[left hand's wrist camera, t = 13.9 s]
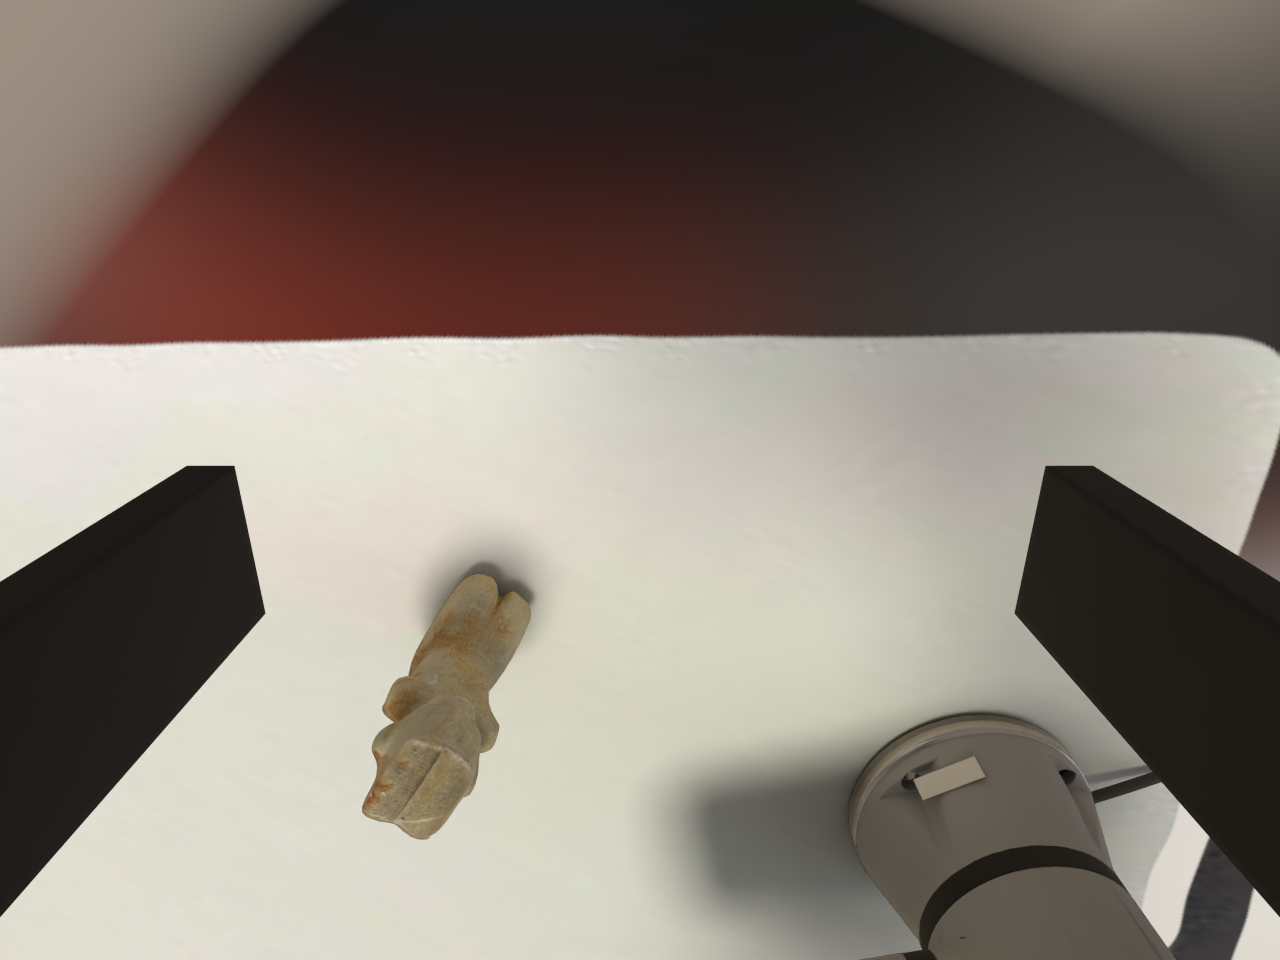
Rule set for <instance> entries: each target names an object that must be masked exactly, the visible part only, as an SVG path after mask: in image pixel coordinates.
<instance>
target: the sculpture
mask: <svg viewBox="0 0 1280 960" xmlns="http://www.w3.org/2000/svg"><path fill="white" fill-rule="evenodd" d="M530 617H531V610H530V607H529V605H528V603H527V602H526V601H525V600H524V599H523V598H522V597H521V596H520V595H519V594H517V593H515V592H509V593H507V594H505V595H503V596H499V593H498V588H497V584H496V582H495V580H494V579H493V578H492V577H490V576H487V575H483V574H473V575H471V576H469V577H467V578H465V579H464V580H463V581H462V582H461V583H460V584H459V585H458V586H457V587H456V589H455V590H454V591H453V593H452V594H451V595H450V597H449V598H448V600H447V601H446V602H445V604H444V605H443V607H442V608H441V610H440V611H439V613H438V615H437V616H436V618H435V619H434V621H433V623H432V624H431V626H430V628H429V629H428V631H427V632H426V634H425V636H424V638H423V640H422V641H421V643H420V645H419V647H418V649H417V650H416V653H415V655H414V658H413V660H412V663H411V667H410V671H409V676H407V677H402V678H399V679H397V680H396V681H395V682H394V684H393V685H392V687H391V689H390V691H389V694H388V696H387V698H386V701H385V704H384V705H383V708H382V710H383V713H384V714H385V715H386V716H387V717H388V718H389V719H390V720H392V721H393V722H394V723H392V724H390V725H388V726H387V727H385V728H384V729H382V730H381V731H380V732H379V733H378V735H377V736H376V737H375V739H374V741H373V744H372V752H373V755H374V757H375V759H376V762H377V775H376V779H375V781H374V783H373V785H372V787H371V789H370V791H369V793H368V795H367V797H366V799H365V801H364V804H363V806H362V813H363V814H364V815H365V816H367V817H368V818H371V819H374V820H377V821H380V822H388V823H393V824H395V825H397V826H398V827H399V828H400V829H401V830H403V831H404V832H405V833H406V834H408V835H409V836H411V837H413V838H416V839H423V840H424V839H429V837H430V836H431V835H432V834H434V833H436V832H437V831H438V830H439V829H440V828H441V827H442V826H443V825H444V823H445V822H446V821H447V820H448V818H449V817H450V815H451V814H452V812H453V811H454V809H455V808H456V806H457V805H458V803H459V802H460V801H461V799H462V798H463V797H466V796H468V795H470V794H471V792H472V790H473V788H474V786H475V784H476V779H477V775H478V766H479V754H480V753H484V752H486V751H488V750H490V749H491V748H492V747H493V746H494V744H495V742H496V738H497V735H498V731H499V724H498V722H497V721H496V719H495V717H494V715H493V714H492V712H491V709H490V706H489V691H490V690H491V688H492V687H493V686H494V684H495V683H496V682H497V680H498V679H499V677H500V676H501V675H502V673H503V672H504V670H505V669H506V667H507V665H508V664H509V662H510V660H511V659H512V657H513V655H514V653H515V651H516V649H517V647H518V645H519V643H520V641H521V639H522V637H523V635H524V633H525V630H526V628H527V626H528V623H529V621H530Z"/></svg>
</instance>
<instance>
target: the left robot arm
mask: <svg viewBox="0 0 1280 960" xmlns="http://www.w3.org/2000/svg"><path fill="white" fill-rule="evenodd" d="M264 614H265V609H264V605H263V600H262V595H261V590H260V586H259V581H258V576H257V571H256V567H255V562H254V557H253V552H252V547H251V543H250V538H249V533H248V528H247V524H246V519H245V514H244V509H243V505H242V500H241V495H240V490H239V486H238V481H237V476H236V471H235V467H234V466H186V467H184V468H183V469H181V470H180V471H178V472H176V473H175V474H173V475H171V476H170V477H168V478H167V479H165V480H163V481H162V482H160V483H159V484H157V485H155V486H154V487H152V488H151V489H149V490H147V491H146V492H144V493H143V494H141V495H139V496H138V497H136V498H134V499H133V500H131V501H130V502H128V503H126V504H125V505H123V506H122V507H120V508H118V509H117V510H115V511H114V512H112V513H110V514H109V515H107V516H105V517H104V518H102V519H101V520H99V521H97V522H96V523H94V524H93V525H91V526H89V527H88V528H86V529H85V530H83V531H81V532H80V533H78V534H77V535H75V536H73V537H72V538H70V539H68V540H67V541H65V542H64V543H62V544H60V545H59V546H57V547H56V548H54V549H52V550H51V551H49V552H48V553H46V554H44V555H43V556H41V557H39V558H38V559H36V560H35V561H33V562H31V563H30V564H28V565H27V566H25V567H23V568H22V569H20V570H19V571H17V572H15V573H14V574H12V575H11V576H9V577H7V578H6V579H4V580H2V581H1V582H0V917H1V916H2V914H3V913H4V912H5V911H6V910H7V909H8V908H9V906H10V905H11V904H12V903H13V902H14V901H15V900H16V898H17V897H18V896H19V895H20V894H21V893H22V892H23V890H24V889H25V888H26V887H27V886H28V885H29V884H30V882H31V881H32V880H33V879H34V878H35V877H36V876H37V874H38V873H39V872H40V871H41V870H42V869H43V868H44V866H45V865H46V864H47V863H48V862H49V861H50V859H51V858H52V857H53V856H54V855H55V854H56V853H57V851H58V850H59V849H60V848H61V847H62V846H63V845H64V843H65V842H66V841H67V840H68V839H69V838H70V837H71V835H72V834H73V833H74V832H75V831H76V830H77V829H78V827H79V826H80V825H81V824H82V823H83V822H84V821H85V819H86V818H87V817H88V816H89V815H90V814H91V813H92V811H93V810H94V809H95V808H96V807H97V806H98V805H99V803H100V802H101V801H102V800H103V799H104V798H105V797H106V795H107V794H108V793H109V792H110V791H111V790H112V788H113V787H114V786H115V785H116V784H117V783H118V782H119V780H120V779H121V778H122V777H123V776H124V775H125V774H126V772H127V771H128V770H129V769H130V768H131V767H132V766H133V764H134V763H135V762H136V761H137V760H138V759H139V758H140V756H141V755H142V754H143V753H144V752H145V751H146V750H147V748H148V747H149V746H150V745H151V744H152V743H153V742H154V740H155V739H156V738H157V737H158V736H159V735H160V734H161V732H162V731H163V730H164V729H165V728H166V727H167V726H168V724H169V723H170V722H171V721H172V720H173V719H174V717H175V716H176V715H177V714H178V713H179V712H180V711H181V709H182V708H183V707H184V706H185V705H186V704H187V703H188V701H189V700H190V699H191V698H192V697H193V696H194V695H195V693H196V692H197V691H198V690H199V689H200V688H201V687H202V685H203V684H204V683H205V682H206V681H207V680H208V679H209V677H210V676H211V675H212V674H213V673H214V672H215V671H216V669H217V668H218V667H219V666H220V665H221V664H222V663H223V661H224V660H225V659H226V658H227V657H228V656H229V655H230V653H231V652H232V651H233V650H234V649H235V648H236V646H237V645H238V644H239V643H240V642H241V641H242V640H243V638H244V637H245V636H246V635H247V634H248V633H249V632H250V630H251V629H252V628H253V627H254V626H255V625H256V624H257V622H258V621H259V620H260V619H261V618H262V617H263V616H264ZM1015 614H1016V616H1017V617H1018V618H1019V619H1020V620H1021V621H1022V622H1023V624H1024V625H1025V626H1026V627H1027V628H1028V629H1029V630H1030V632H1031V633H1032V634H1033V635H1034V636H1035V637H1036V638H1037V640H1038V641H1039V642H1040V643H1041V644H1042V645H1043V646H1044V648H1045V649H1046V650H1047V651H1048V652H1049V653H1050V655H1051V656H1052V657H1053V658H1054V659H1055V660H1056V661H1057V663H1058V664H1059V665H1060V666H1061V667H1062V668H1063V669H1064V671H1065V672H1066V673H1067V674H1068V675H1069V676H1070V677H1071V679H1072V680H1073V681H1074V682H1075V683H1076V684H1077V685H1078V687H1079V688H1080V689H1081V690H1082V691H1083V692H1084V693H1085V695H1086V696H1087V697H1088V698H1089V699H1090V700H1091V701H1092V703H1093V704H1094V705H1095V706H1096V707H1097V708H1098V709H1099V711H1100V712H1101V713H1102V714H1103V715H1104V716H1105V717H1106V719H1107V720H1108V721H1109V722H1110V723H1111V724H1112V726H1113V727H1114V728H1115V729H1116V730H1117V731H1118V732H1119V734H1120V735H1121V736H1122V737H1123V738H1124V739H1125V740H1126V742H1127V743H1128V744H1129V745H1130V746H1131V747H1132V748H1133V750H1134V751H1135V752H1136V753H1137V754H1138V755H1139V756H1140V758H1141V759H1142V760H1143V761H1144V762H1145V763H1146V764H1147V766H1148V767H1149V768H1150V769H1151V770H1152V771H1153V772H1151V773H1148V774H1145V775H1142V776H1139V777H1136V778H1133V779H1130V780H1127V781H1124V782H1121V783H1118V784H1115V785H1111V786H1108V787H1105V788H1102V789H1099V790H1095V791H1092V792H1091V791H1090V788H1089V786H1088V783H1087V780H1086V779H1085V777H1084V775H1083V773H1082V772H1081V770H1080V769H1079V768H1078V766H1077V765H1076V764H1075V762H1074V761H1073V760H1072V758H1071V757H1070V756H1069V754H1068V753H1067V752H1066V750H1065V749H1064V748H1063V747H1062V746H1061V744H1060V743H1059V742H1058V741H1057V740H1055V739H1054V738H1053V737H1052V736H1051V735H1049V734H1048V733H1046V732H1045V731H1043V730H1042V729H1040V728H1038V727H1036V726H1034V725H1032V724H1029V723H1026V722H1024V721H1021V720H1017V719H1013V718H1009V717H1003V716H995V715H967V716H959V717H953V718H948V719H944V720H940V721H937V722H933V723H930V724H928V725H925V726H922V727H920V728H918V729H916V730H914V731H911V732H909V733H908V734H906V735H904V736H902V737H901V738H899V739H897V740H896V741H895V742H893V743H892V744H890V745H889V746H888V747H886V748H885V749H884V750H883V751H882V752H880V753H879V754H878V755H877V756H876V757H875V758H874V759H873V760H872V762H871V763H870V764H869V765H868V766H867V768H866V769H865V770H864V772H863V773H862V775H861V776H860V778H859V780H858V782H857V784H856V786H855V788H854V791H853V793H852V797H851V800H850V806H849V827H850V831H851V835H852V838H853V842H854V845H855V848H856V851H857V854H858V857H859V859H860V862H861V864H862V866H863V868H864V869H865V871H866V872H867V874H868V875H869V877H870V878H871V879H872V881H873V882H874V883H875V885H876V886H877V887H878V888H879V890H880V891H881V892H882V894H883V895H884V896H885V898H886V899H887V900H888V901H889V903H890V904H891V905H892V907H893V908H894V909H895V910H896V912H897V913H898V914H899V916H900V917H901V918H902V919H903V921H904V922H905V923H906V925H907V926H908V927H909V928H910V930H911V931H912V932H913V933H914V935H915V936H916V937H917V939H918V940H919V942H920V945H921V947H922V950H920V951H914V952H907V953H898V954H892V955H885V956H879V957H873V958H867V959H861V960H1176V959H1175V958H1174V956H1173V955H1172V953H1171V952H1170V950H1169V949H1168V948H1167V946H1166V945H1165V943H1164V942H1163V940H1162V939H1161V938H1160V936H1159V935H1158V933H1157V932H1156V931H1155V929H1154V928H1153V926H1152V925H1151V924H1150V922H1149V921H1148V919H1147V918H1146V916H1145V915H1144V913H1143V912H1142V911H1141V909H1140V908H1139V906H1138V905H1137V904H1136V902H1135V901H1134V899H1133V898H1132V897H1131V895H1130V894H1129V892H1128V891H1127V889H1126V888H1125V886H1124V885H1123V884H1122V882H1121V881H1120V879H1119V878H1118V876H1117V875H1116V873H1115V872H1114V870H1113V868H1112V864H1111V861H1110V857H1109V854H1108V850H1107V846H1106V843H1105V839H1104V836H1103V832H1102V829H1101V825H1100V822H1099V818H1098V815H1097V811H1096V808H1095V803H1098V802H1102V801H1105V800H1108V799H1111V798H1114V797H1117V796H1121V795H1124V794H1127V793H1130V792H1133V791H1136V790H1139V789H1142V788H1145V787H1148V786H1151V785H1154V784H1157V783H1160V782H1162V783H1163V784H1164V785H1165V786H1166V787H1167V788H1168V790H1169V791H1170V792H1171V793H1172V794H1173V795H1174V797H1175V798H1176V799H1177V800H1178V801H1179V802H1180V803H1181V805H1182V806H1183V807H1184V808H1185V809H1186V810H1187V811H1188V813H1189V814H1190V815H1191V816H1192V817H1193V818H1194V819H1195V821H1196V822H1197V823H1198V824H1199V825H1200V826H1201V827H1202V829H1203V830H1204V831H1205V832H1206V833H1207V834H1208V835H1209V837H1210V838H1211V839H1212V840H1213V841H1214V842H1215V843H1216V845H1217V846H1218V847H1219V848H1220V849H1221V850H1222V851H1223V853H1224V854H1225V855H1226V856H1227V857H1228V858H1229V859H1230V861H1231V862H1232V863H1233V864H1234V865H1235V866H1236V868H1237V869H1238V870H1239V871H1240V872H1241V873H1242V874H1243V876H1244V877H1245V878H1246V879H1247V880H1248V881H1249V882H1250V884H1251V885H1252V886H1253V887H1254V888H1255V889H1256V890H1257V892H1258V893H1259V894H1260V895H1261V896H1262V897H1263V898H1264V900H1265V901H1266V902H1267V903H1268V904H1269V905H1270V906H1271V908H1272V909H1273V910H1274V911H1275V912H1276V913H1277V914H1278V916H1279V917H1280V582H1279V581H1278V580H1276V579H1274V578H1273V577H1271V576H1269V575H1268V574H1266V573H1265V572H1263V571H1261V570H1260V569H1258V568H1257V567H1255V566H1253V565H1252V564H1250V563H1248V562H1247V561H1245V560H1244V559H1242V558H1241V557H1239V556H1237V555H1236V554H1234V553H1232V552H1231V551H1229V550H1228V549H1226V548H1224V547H1223V546H1221V545H1220V544H1218V543H1216V542H1215V541H1213V540H1212V539H1210V538H1208V537H1207V536H1205V535H1203V534H1202V533H1200V532H1199V531H1197V530H1195V529H1194V528H1192V527H1191V526H1189V525H1187V524H1186V523H1184V522H1183V521H1181V520H1179V519H1178V518H1176V517H1175V516H1173V515H1171V514H1170V513H1168V512H1166V511H1165V510H1163V509H1162V508H1160V507H1158V506H1157V505H1155V504H1154V503H1152V502H1150V501H1149V500H1147V499H1146V498H1144V497H1142V496H1141V495H1139V494H1137V493H1136V492H1134V491H1133V490H1131V489H1129V488H1128V487H1126V486H1125V485H1123V484H1121V483H1120V482H1118V481H1117V480H1115V479H1113V478H1112V477H1110V476H1109V475H1107V474H1105V473H1104V472H1102V471H1100V470H1099V469H1097V468H1096V467H1094V466H1046V467H1045V471H1044V476H1043V481H1042V486H1041V490H1040V495H1039V500H1038V505H1037V509H1036V514H1035V519H1034V524H1033V528H1032V533H1031V538H1030V543H1029V547H1028V552H1027V557H1026V562H1025V567H1024V571H1023V576H1022V581H1021V586H1020V590H1019V595H1018V600H1017V605H1016V609H1015Z"/></svg>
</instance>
